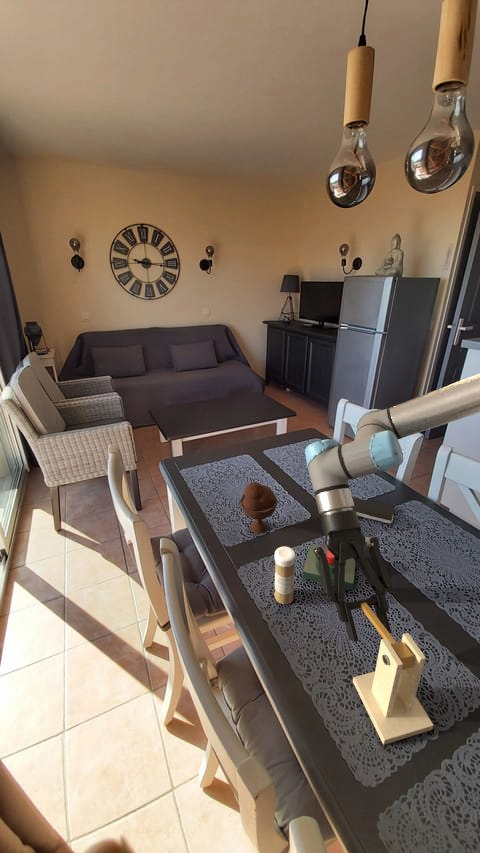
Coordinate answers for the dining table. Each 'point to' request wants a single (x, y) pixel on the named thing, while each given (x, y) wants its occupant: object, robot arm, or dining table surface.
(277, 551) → the sprinkles bottle
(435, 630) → the dining table surface
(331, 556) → the button
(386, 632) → the lever
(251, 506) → the ice cream bowl
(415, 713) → the wooden lever stand
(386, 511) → the smartphone
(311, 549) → the off panel
